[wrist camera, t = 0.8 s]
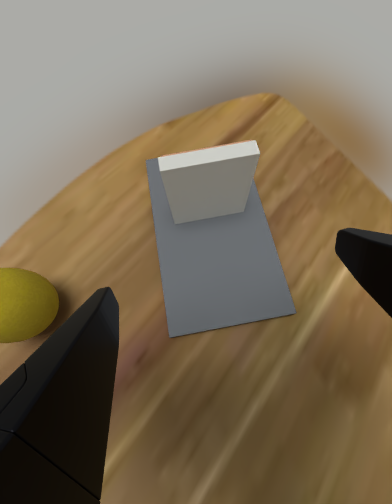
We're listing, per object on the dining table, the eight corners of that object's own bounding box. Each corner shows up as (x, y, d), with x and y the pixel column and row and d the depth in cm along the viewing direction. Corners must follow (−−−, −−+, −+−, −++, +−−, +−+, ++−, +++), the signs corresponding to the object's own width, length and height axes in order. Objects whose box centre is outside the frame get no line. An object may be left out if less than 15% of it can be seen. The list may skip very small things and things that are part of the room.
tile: (243, 211, 24) (260, 153, 16) (174, 224, 24) (159, 171, 16) (240, 199, 24) (254, 137, 17) (172, 211, 24) (157, 154, 17)
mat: (293, 313, 21) (296, 313, 20) (170, 337, 21) (169, 337, 20) (241, 148, 28) (241, 143, 27) (147, 165, 28) (145, 160, 27)
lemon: (71, 273, 23) (7, 242, 16) (80, 330, 22) (12, 325, 14) (15, 292, 23) (-79, 269, 16) (19, 351, 21) (-85, 358, 14)
